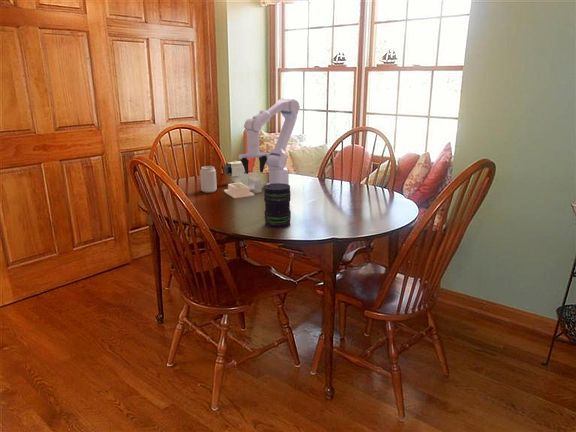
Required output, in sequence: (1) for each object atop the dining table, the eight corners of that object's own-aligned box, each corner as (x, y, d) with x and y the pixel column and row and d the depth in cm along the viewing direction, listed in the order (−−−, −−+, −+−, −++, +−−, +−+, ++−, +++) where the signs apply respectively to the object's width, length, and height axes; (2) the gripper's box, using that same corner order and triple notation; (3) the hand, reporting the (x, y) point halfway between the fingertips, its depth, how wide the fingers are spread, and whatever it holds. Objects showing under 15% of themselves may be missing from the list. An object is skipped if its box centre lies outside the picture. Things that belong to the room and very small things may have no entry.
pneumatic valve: (224, 183, 246) (223, 160, 242) (243, 180, 252) (242, 158, 249) (229, 185, 242) (228, 162, 238) (248, 182, 248) (248, 159, 245)
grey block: (255, 188, 235) (254, 177, 233) (261, 192, 228) (261, 180, 226) (248, 189, 233) (248, 177, 232) (254, 193, 226) (254, 180, 225)
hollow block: (243, 189, 233) (243, 181, 232) (254, 195, 221) (254, 187, 220) (224, 191, 229) (223, 183, 228) (234, 198, 217) (233, 189, 216)
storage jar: (290, 220, 184) (290, 183, 179) (291, 228, 174) (291, 189, 170) (264, 221, 183) (263, 183, 179) (264, 229, 174) (263, 189, 170)
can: (218, 189, 234) (217, 165, 231) (214, 193, 227) (213, 168, 223) (203, 189, 235) (202, 165, 231) (199, 192, 228) (197, 168, 224)
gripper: (242, 146, 218) (243, 175, 221) (270, 144, 224) (271, 172, 228) (236, 144, 224) (237, 172, 228) (264, 142, 230) (265, 170, 234)
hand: (254, 172), depth 228 cm, fingers open, 7 cm apart
